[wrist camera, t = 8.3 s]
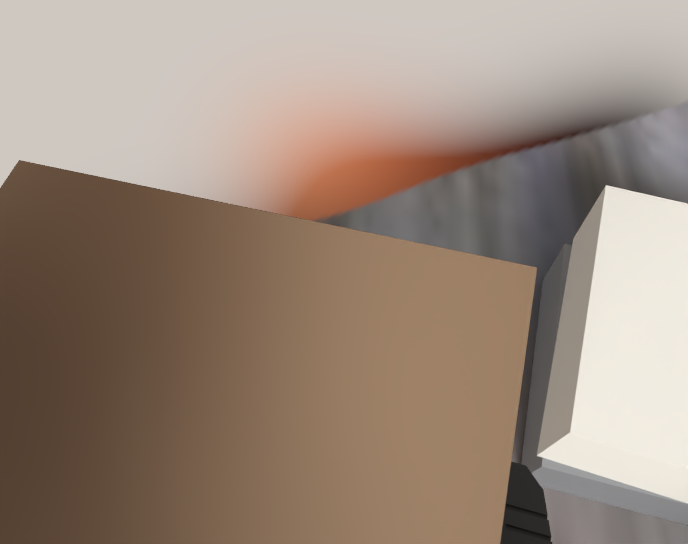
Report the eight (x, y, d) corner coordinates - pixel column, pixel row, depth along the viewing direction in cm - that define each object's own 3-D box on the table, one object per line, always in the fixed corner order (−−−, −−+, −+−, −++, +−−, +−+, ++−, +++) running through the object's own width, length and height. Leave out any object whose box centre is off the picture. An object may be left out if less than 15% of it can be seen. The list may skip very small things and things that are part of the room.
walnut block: (428, 472, 14) (536, 267, 5) (381, 707, 12) (407, 1229, 2) (245, 422, 15) (19, 160, 6) (172, 633, 13) (-422, 809, 3)
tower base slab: (750, 327, 27) (806, 291, 24) (765, 548, 23) (837, 543, 19) (540, 283, 29) (564, 243, 25) (517, 481, 25) (541, 466, 21)
